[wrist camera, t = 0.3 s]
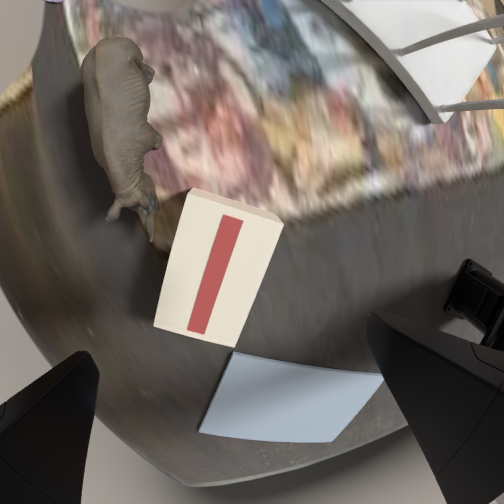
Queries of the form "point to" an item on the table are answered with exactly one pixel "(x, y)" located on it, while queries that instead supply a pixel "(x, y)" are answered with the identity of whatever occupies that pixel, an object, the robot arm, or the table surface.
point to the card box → (215, 267)
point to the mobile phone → (55, 0)
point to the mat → (285, 400)
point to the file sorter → (428, 48)
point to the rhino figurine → (121, 124)
